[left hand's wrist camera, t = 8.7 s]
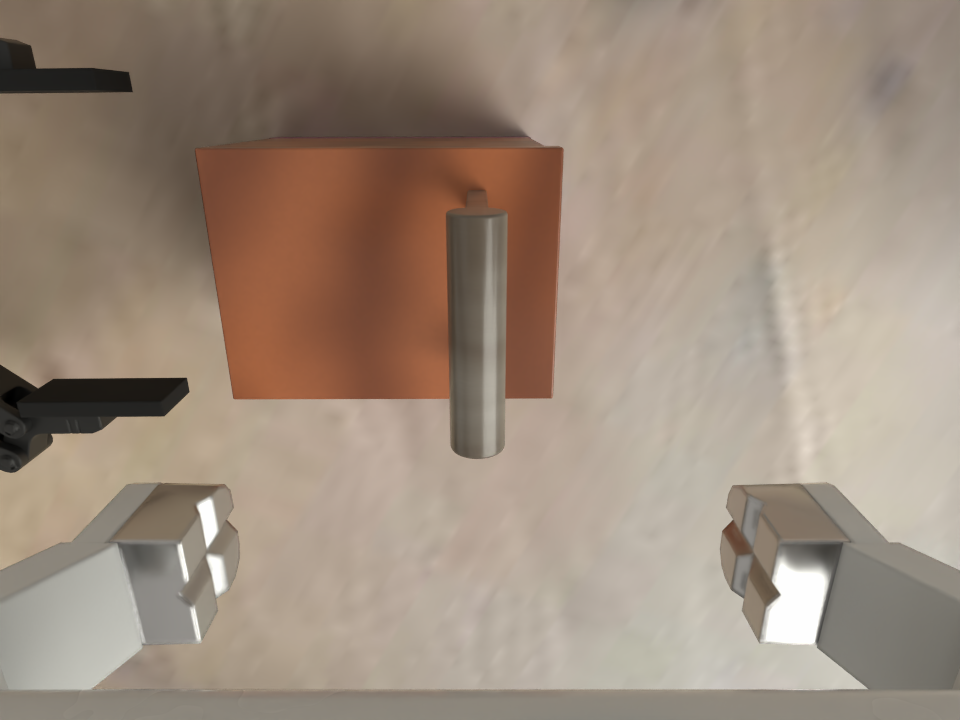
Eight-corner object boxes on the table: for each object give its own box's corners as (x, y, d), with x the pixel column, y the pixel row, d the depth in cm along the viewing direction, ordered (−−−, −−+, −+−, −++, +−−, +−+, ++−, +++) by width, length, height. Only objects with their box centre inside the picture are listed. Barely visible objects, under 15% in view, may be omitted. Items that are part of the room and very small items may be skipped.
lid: (560, 145, 24) (599, 162, 16) (550, 388, 27) (578, 497, 20) (205, 146, 24) (75, 163, 16) (241, 389, 27) (149, 498, 20)
